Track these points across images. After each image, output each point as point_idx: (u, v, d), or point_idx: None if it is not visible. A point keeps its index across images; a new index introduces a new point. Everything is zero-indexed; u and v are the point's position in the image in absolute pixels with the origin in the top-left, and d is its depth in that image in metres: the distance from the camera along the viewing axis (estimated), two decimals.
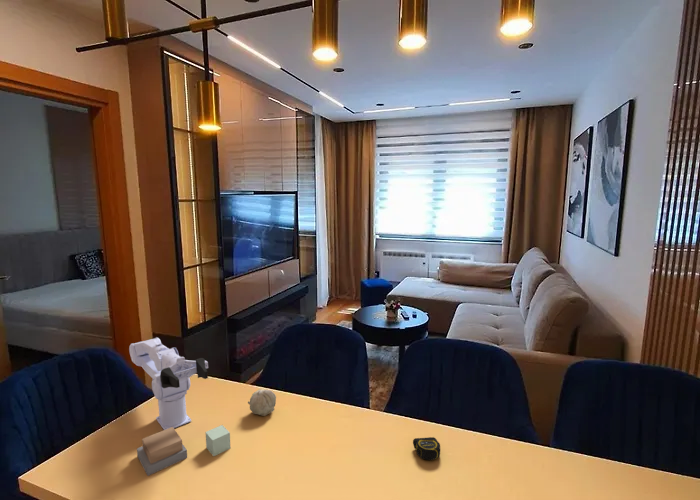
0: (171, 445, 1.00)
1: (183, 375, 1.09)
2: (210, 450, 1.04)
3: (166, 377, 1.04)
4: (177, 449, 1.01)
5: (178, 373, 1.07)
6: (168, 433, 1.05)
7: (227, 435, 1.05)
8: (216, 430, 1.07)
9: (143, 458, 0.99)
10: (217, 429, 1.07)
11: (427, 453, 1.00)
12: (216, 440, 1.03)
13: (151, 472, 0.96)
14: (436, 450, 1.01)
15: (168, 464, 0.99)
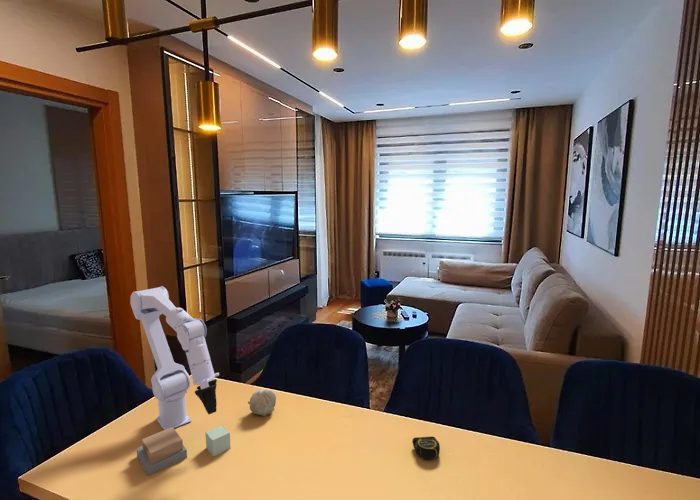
0: (171, 445, 1.00)
1: None
2: (210, 450, 1.04)
3: (207, 389, 1.00)
4: (177, 449, 1.01)
5: None
6: (168, 433, 1.04)
7: (227, 435, 1.05)
8: (216, 430, 1.07)
9: (143, 458, 0.99)
10: (217, 429, 1.07)
11: (426, 452, 1.01)
12: (216, 440, 1.03)
13: (151, 472, 0.97)
14: (435, 449, 1.01)
15: (168, 464, 0.99)
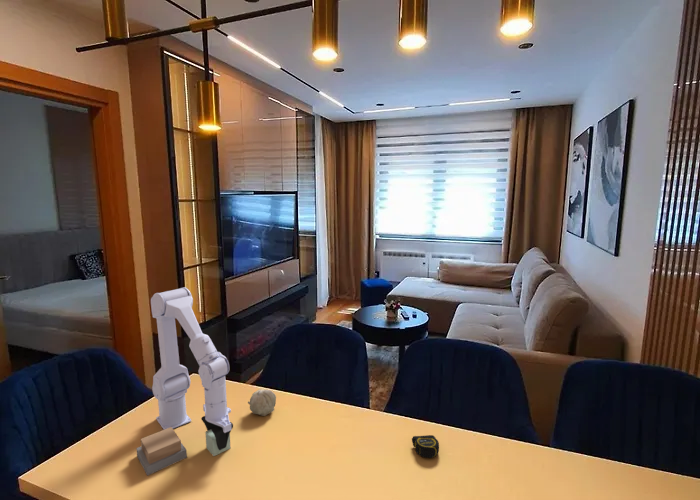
0: (169, 446, 1.00)
1: None
2: (210, 450, 1.04)
3: None
4: (176, 449, 1.01)
5: None
6: (166, 433, 1.04)
7: None
8: None
9: (143, 458, 0.99)
10: None
11: (426, 450, 1.01)
12: None
13: (151, 472, 0.97)
14: (435, 447, 1.02)
15: (168, 464, 0.99)
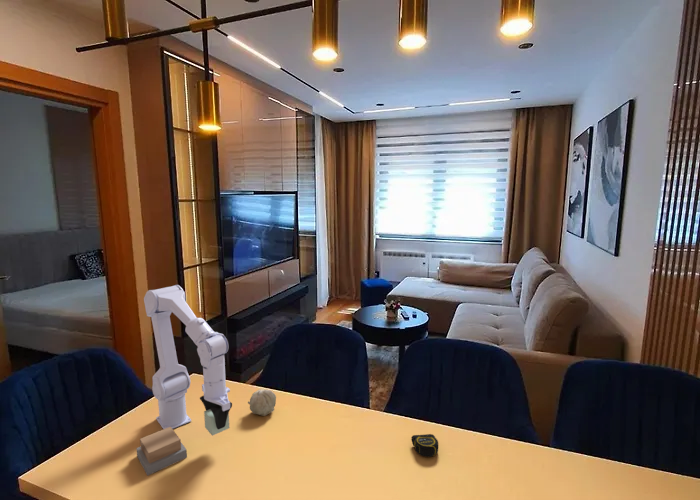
0: (169, 445, 1.00)
1: None
2: (209, 429, 1.04)
3: None
4: (176, 449, 1.01)
5: None
6: (166, 433, 1.05)
7: None
8: None
9: (143, 458, 0.99)
10: None
11: (425, 449, 1.02)
12: None
13: (151, 472, 0.97)
14: (434, 446, 1.02)
15: (168, 464, 0.99)
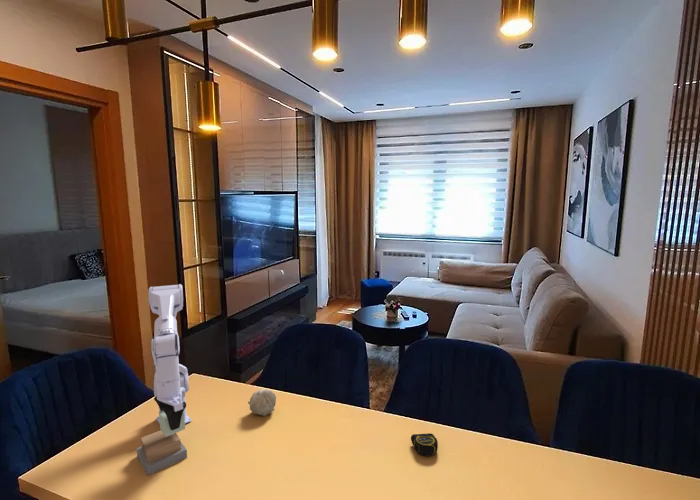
0: (169, 445, 1.00)
1: None
2: (163, 430, 1.00)
3: None
4: (175, 448, 1.02)
5: None
6: None
7: None
8: None
9: (143, 458, 0.99)
10: None
11: (424, 448, 1.02)
12: None
13: (151, 472, 0.97)
14: (433, 445, 1.03)
15: (168, 464, 0.99)
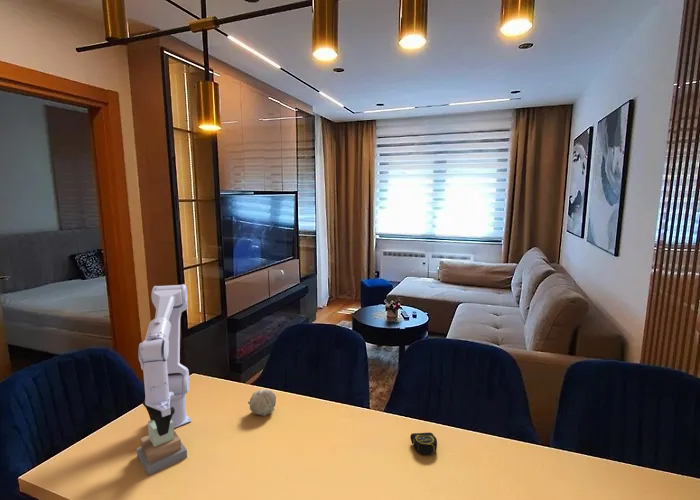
0: (169, 445, 1.00)
1: None
2: (151, 440, 1.00)
3: None
4: (175, 449, 1.02)
5: None
6: None
7: (170, 425, 1.01)
8: None
9: (143, 458, 0.99)
10: None
11: (424, 447, 1.02)
12: None
13: (151, 472, 0.97)
14: (433, 444, 1.03)
15: (168, 464, 0.99)
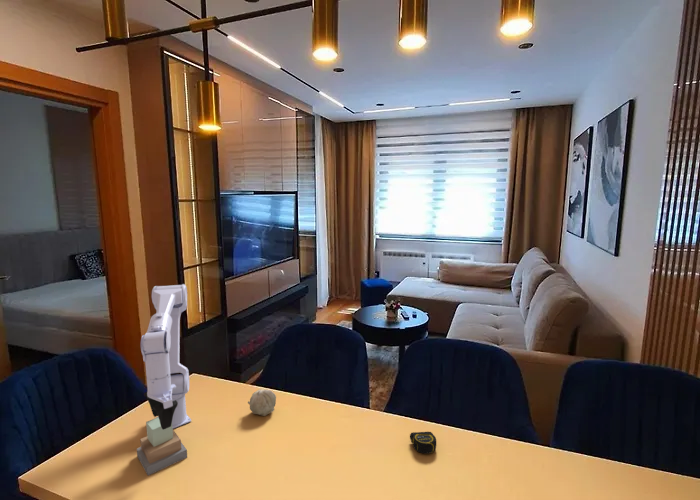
0: (170, 445, 1.00)
1: None
2: (151, 440, 1.00)
3: None
4: (176, 449, 1.01)
5: None
6: None
7: None
8: (158, 420, 1.02)
9: (143, 458, 0.99)
10: None
11: (423, 446, 1.03)
12: (157, 429, 0.99)
13: (151, 472, 0.97)
14: (432, 443, 1.03)
15: (168, 464, 0.99)
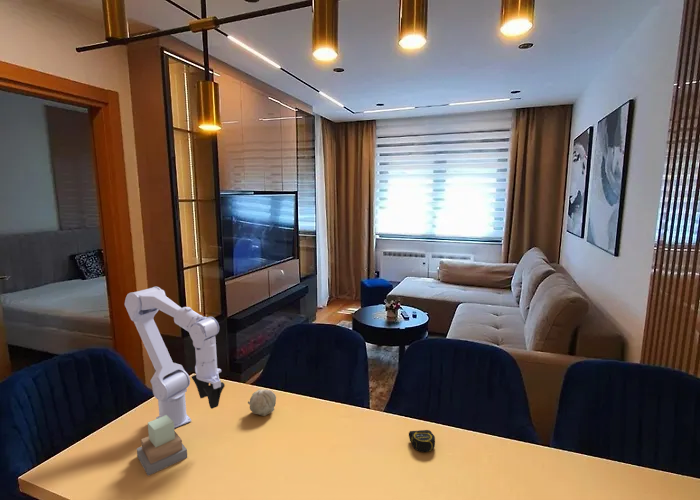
0: (171, 445, 1.00)
1: None
2: (152, 441, 1.00)
3: None
4: (177, 449, 1.01)
5: None
6: None
7: (170, 425, 1.01)
8: (159, 420, 1.02)
9: (143, 458, 0.99)
10: (160, 419, 1.03)
11: (422, 444, 1.04)
12: (159, 430, 0.99)
13: (151, 472, 0.96)
14: (431, 442, 1.04)
15: (168, 464, 0.99)
